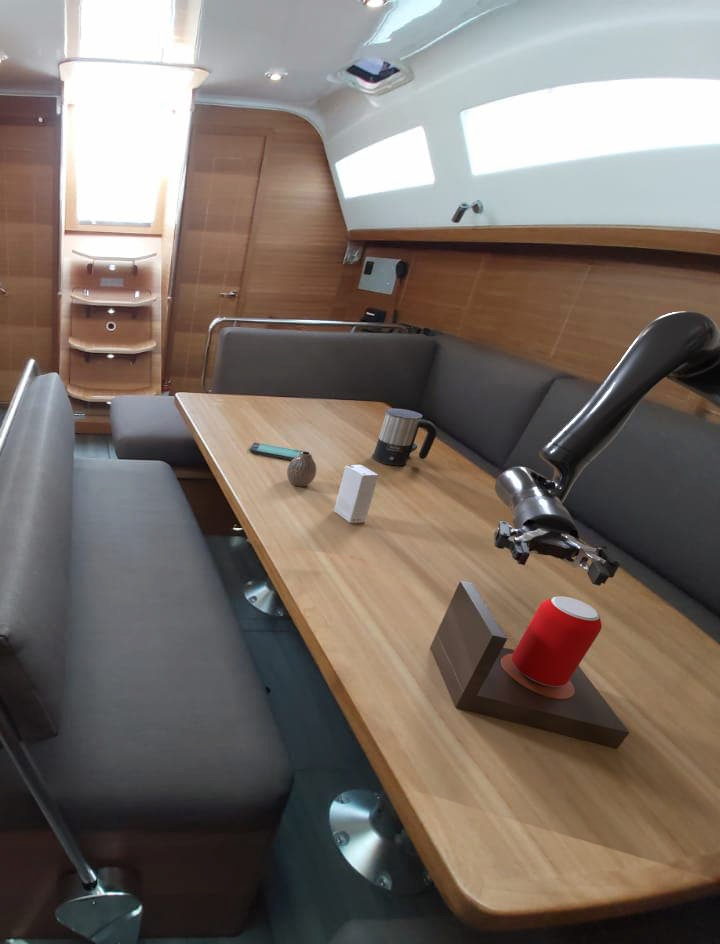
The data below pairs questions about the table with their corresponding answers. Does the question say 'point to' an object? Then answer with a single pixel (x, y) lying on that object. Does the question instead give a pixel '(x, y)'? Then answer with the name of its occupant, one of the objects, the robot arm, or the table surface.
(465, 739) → the table surface
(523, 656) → the beverage can
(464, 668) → the bookend
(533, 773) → the table surface
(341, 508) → the cosmetic box
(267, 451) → the smartphone
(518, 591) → the table surface
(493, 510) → the table surface
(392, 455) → the milk frother
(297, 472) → the vase
